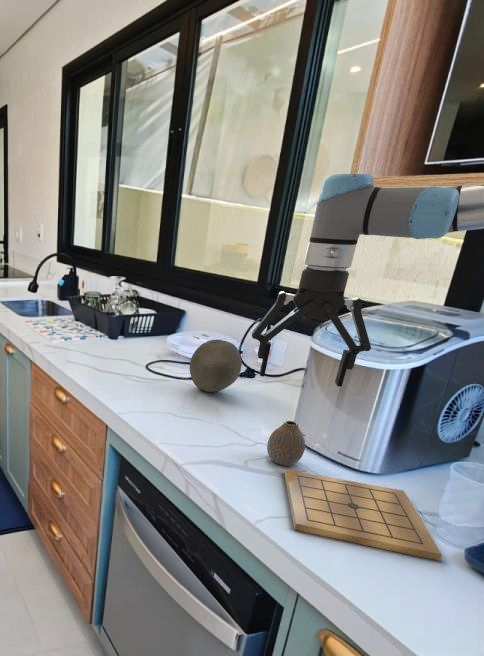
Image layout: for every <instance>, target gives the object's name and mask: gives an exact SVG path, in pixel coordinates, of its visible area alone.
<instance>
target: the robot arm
mask: <svg viewBox="0 0 484 656" xmlns="http://www.w3.org/2000/svg"><path fill="white" fill-rule="evenodd" d="M374 178H375V177H374V176H373V175H372V174H369V173H334V174H333V173H332V174H330V175H328V176H327V177H326V178H325V179H324V180H323V183H322V187H321V190H320V193H319V196H318V199H317V202H316V207H315V213H314V218H313V222H312V226H311V227H312V228H311V231H310V232H311V233H310V237H309V240H308V245H307V248H306V253H305V258H304V261H303V264H304V265H305V267H304V268H303V269H302V270H301V275H300V279H299V283H298V288H297V290H296V293H295V294H292V293H287V292H285V291H284V290H281V291H279V293H277V298H276V300H275V302H274V304H273V305H272V306H271V308H269V310H268V311H267V313H266V314H265V315H264V316H263V318H262V319H261V320H260V321H259V323H258V324H257V325H256V326H255V328H254V329H253V331H252V332H251V338H252V339H253V340H257V341H258V342H259V345H258V351H257V359H261V365H260V370H259V376H260V377H262V378H263V377H266V376H265V375H266V371H267V366H268V361H269V356H270V352H271V348H272V343H271V340H272V339H274V338H275V337H276V336H277V335H279V334H280V333H281V332H283V331H284V330H285V329H286V328H288V327H289V326H290V325H292V324H293V323H294V322H295V321H297V320H299V319H300V318H303V319H304V320H308V321H309V320H317V321H321V322H324V321H326V320H330V322H331V323H332V325H333V326H334V328H335V329H336V331H337V332H338V334H339V335H340V337H341V338H342V340H343V341H344V344H345V345H346V346H347V348H348V349H343V351H342V355H341V358H340V361H339V366H338V369H337V373H336V376H335V380H334V383H335V385H336V387H341V388H342V387H343V384H344V380H345V376H346V373H347V370H353V369H354V367H355V363H356V359H357V356H358V355H359V354H360V353H361V352H370V351H371V350H372V346H371V342H370V339H369V335H368V331H367V328H366V324H365V320H364V317H363V312H362V308H363V303H364V301H363V300H362V298H359V297H358V296H355V297H353V298H345V291H346V287H347V283H348V280H349V276H350V273H349V271H348V270H347V269H349V268H351V267H352V264H353V260H354V256H355V252H356V248H357V244H358V241H359V239H360V235H364V236H380V237H390V238H391V237H393V238H408V239H409V238H410V239H415V240H425V239H434V240H435V239H441V238H443V237H445V236H446V235H447V234H448V233H455V232H464V231H473V230H483V229H484V186H477V185H471V184H472V183H468V184H462V185H455V186H454V185H453V186H447V187H441V186H435V185H434V186H411V187H410V186H409V187H408V186H407V187H405V186H403V187H401V186H400V187H381V186H380V187H378V186H374V185H375V184H374V180H375V179H374ZM291 301H293V304H294V306H295V308H294V309H293V310H291V311H290V312H289V313H288V314H287V315H286V316H285V317H283V318H282V319H281V320H280V321H278V322H277V323H276V324H275V325H273V326H272V327H270V329H268V330H267V331H266V332H264V331H265V330H266V329H267V327H269V325H270V324H271V322H272V321H273V320H274V319H275V317H276V316H277V315H278V314H279V312H280V311H281V310H282V308H283V306H286V305H288V304H289V303H290V302H291ZM344 306H346V309H347V310H348V311H350V313H351V317H352V320H353V324H354V327H355V331H356V335H357V338H358V341H359V343H356V342H355V340H354V339H353V338H352V336H351V334H350V333H349V331H348V329H347V328H346V327H345V325H344V323H343V322H342V320H341V318H340V317H339V315H338V313H337V312H339V310H340V309H342V308H343V307H344ZM263 332H264V333H263Z"/></svg>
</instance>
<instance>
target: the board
mask: <svg viewBox="0 0 484 656" xmlns="http://www.w3.org/2000/svg"><path fill="white" fill-rule="evenodd" d="M284 479H285V484H286V491H287V496H288V501H289V502H288V503H289V507H290V508H289V509H290V513H291V519H292V524H293V530H294V531H298V532H303V533H307V534H313V535H317V536H320V537H321V536H322V537H326V538H331V539H336V540H340V541H345V542H349V543H354V544H357V545H362V546H363V545H364V546H369V547H373V548H377V549H382V550H386V551H392V552H397V553H400V554H405V555H410V556H415V557H419V558H423V559H429V560H433V561H438V562H440V560H441V558H442V556H443V554H442V552H441V550H440V549H439V547H438V545H437V544H436V542H435V541H434V539H433V537H432V535H431V533H430V532H429V530H428V529H427V527H426V525H425V524H424V522H423V521H422V519H421V517H420V515H419V514H418V512H417V511H416V508H415V507H414V505H413V503H412V502H411V500H410V498H409V497H408V495H407V493H406V492H405V490H403V489H398V488H391V487H386V486H380V485H374V484H369V483H364V482H358V481H354V480H353V481H352V480H346V479H341V478H336V477H330V476H325V475H319V474H313V473H307V472H303V471H298V470H292V469H285V471H284Z"/></svg>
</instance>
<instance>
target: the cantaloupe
mask: <svg viewBox="0 0 484 656" xmlns="http://www.w3.org/2000/svg"><path fill="white" fill-rule="evenodd" d="M242 364H243V360H242V355H241V353H240V350H239V349H238V347H237V346H236V345H235V344H233V343H232V342H230V341H228V340H223V339H210V340H207V341H205V342H203V343H202V344H200V345H199V346H198V347H197V348H196V350H194V352H193V354H192V355H191V358H190V361H189V374H190V379H191V380H192V383H193V384H194V385H195V386H196V388H198V389H200V390H201V391H204V392H205V393H206V392H207V393H217V392H221V391H222V390H225V389H227V388H228V387H230V386H231V385H233V384H234V383H235V382H236V381H237V380H238V378H239V376H240V373H241V371H242V366H243V365H242Z"/></svg>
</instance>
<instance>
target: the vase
mask: <svg viewBox="0 0 484 656" xmlns="http://www.w3.org/2000/svg"><path fill="white" fill-rule="evenodd" d="M305 449H306V441H305V437H304V435H303V432H302V431H301V430H300V427H299V424H298V422H296V421H292V420H285V421H284V422H283V423H282V425H280V426H279V427H277V428H276V429H275V430H273V432H271V434H270V435H269V437H268V440H267V445H266V452H267V455H268V457H269V458H270V459H271V461H272V462H273V463H275V464H277V465H280V466H284V467H285V466H286V467H289V466H293V465H296V464H297V463H298V462H299V461H300V460H301V459H302V457H303V456H304V453H305Z"/></svg>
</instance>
